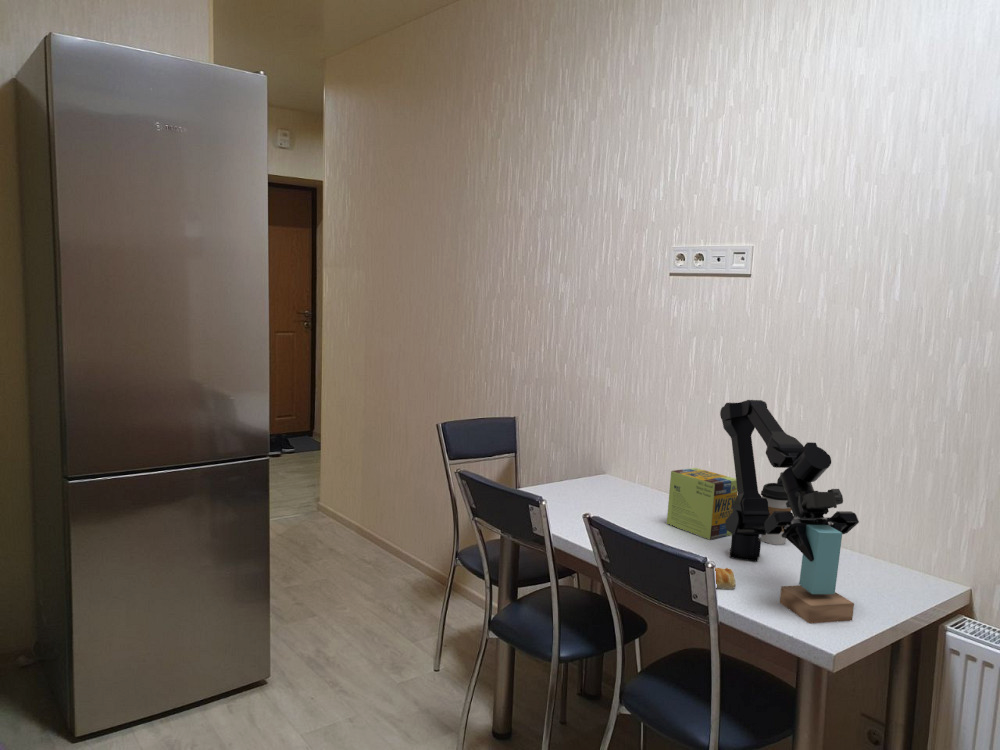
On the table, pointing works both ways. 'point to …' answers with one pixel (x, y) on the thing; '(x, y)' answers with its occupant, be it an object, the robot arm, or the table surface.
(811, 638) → the table surface
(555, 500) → the table surface
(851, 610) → the walnut block
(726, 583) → the pastry
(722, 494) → the protein box
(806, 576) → the teal pillar
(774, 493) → the coffee cup
